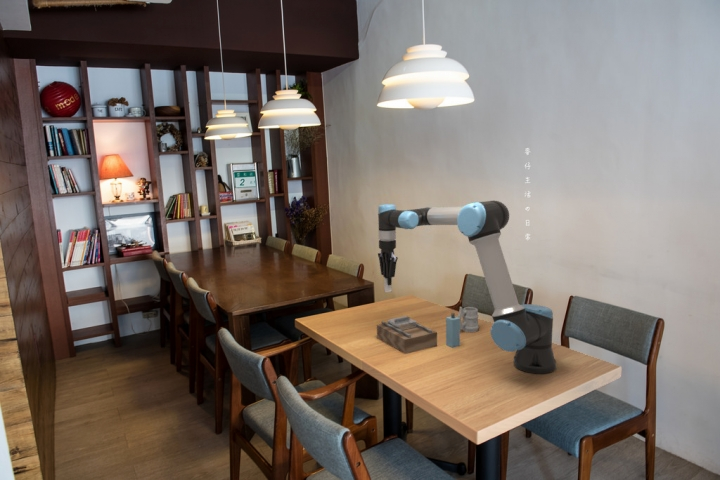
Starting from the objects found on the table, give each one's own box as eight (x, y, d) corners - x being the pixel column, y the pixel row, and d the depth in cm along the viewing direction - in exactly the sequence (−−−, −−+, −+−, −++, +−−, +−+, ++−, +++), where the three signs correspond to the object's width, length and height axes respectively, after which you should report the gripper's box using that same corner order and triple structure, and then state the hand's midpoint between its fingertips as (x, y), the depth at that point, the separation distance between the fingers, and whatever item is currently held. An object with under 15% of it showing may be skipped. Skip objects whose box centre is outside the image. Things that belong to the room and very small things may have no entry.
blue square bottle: (459, 346, 218) (459, 313, 216) (452, 347, 216) (452, 315, 214) (453, 343, 222) (453, 311, 220) (446, 345, 220) (446, 312, 218)
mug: (482, 330, 237) (482, 304, 235) (463, 335, 230) (463, 309, 228) (470, 326, 243) (470, 301, 241) (451, 331, 237) (451, 305, 235)
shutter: (416, 326, 224) (416, 319, 224) (399, 330, 220) (399, 322, 219) (405, 321, 232) (404, 313, 232) (387, 324, 228) (387, 317, 227)
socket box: (436, 346, 219) (436, 329, 218) (405, 353, 211) (405, 336, 210) (407, 331, 238) (407, 316, 237) (377, 338, 230) (376, 322, 229)
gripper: (402, 240, 226) (403, 293, 230) (386, 236, 237) (387, 287, 241) (388, 242, 222) (388, 296, 226) (372, 238, 234) (373, 289, 237)
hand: (388, 291), depth 234 cm, fingers closed
